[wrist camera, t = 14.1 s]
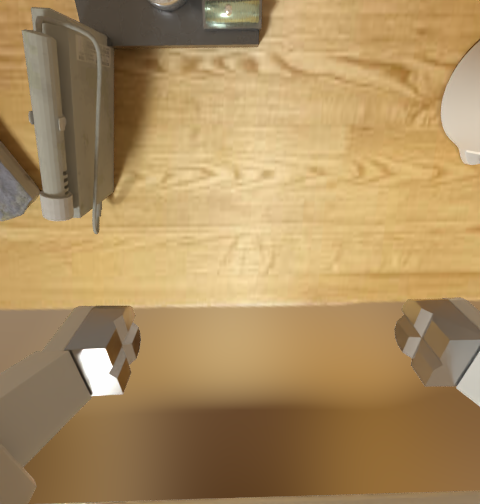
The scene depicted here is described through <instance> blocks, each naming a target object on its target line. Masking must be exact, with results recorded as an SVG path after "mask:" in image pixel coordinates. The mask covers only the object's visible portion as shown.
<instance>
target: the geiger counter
mask: <svg viewBox="0 0 480 504" xmlns="http://www.w3.org/2000/svg"><path fill="white" fill-rule="evenodd" d="M31 12H32V21H33V30H34V31H33V30H22V35H23V42H24V50H25V58H26V65H27V73H28V80H29V88H30V96H31V103H32V111H29V121H30V123H31V124H34V126H35V134H36V141H37V149H38V156H39V164H40V172H41V179H42V187H43V190H42V191H41V192H40V200H41V207H42V215H43V217H44V218H46V219H48V220H51V221H66V220H69V219H71V218H81V217H82V216H83V215H85V214H86V213H87V212H89V211H90V210H91V209H93V231H94V233H95V234H98V232H99V217H100V216H101V210H102V201H103V200H104V199H105V198H107V197H108V196H109V195H110V194H112V193H113V192H114V48H111V47H108V46H107V36H106V35H104V34H102V33H100V32H98V31H97V30H95V29H93V28H91V27H88V26H86V25H84V24H82V23H80V22H78V21H76V20H74V19H71V18H69V17H67V16H65V15H63V14H61V13H59V12H57V11H55V10H52V9H50V8H37V7H32V8H31Z"/></svg>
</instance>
